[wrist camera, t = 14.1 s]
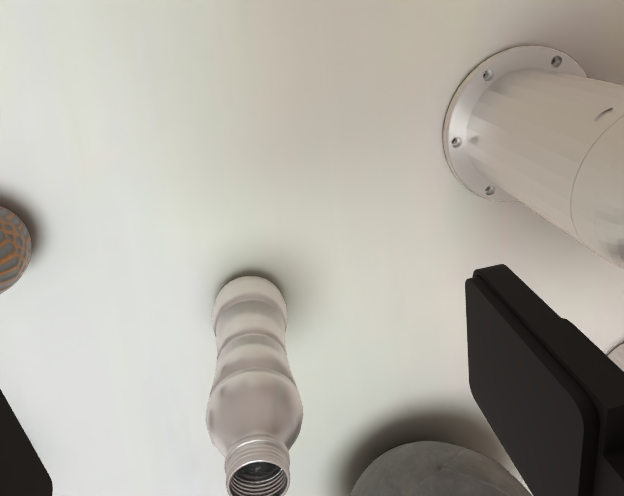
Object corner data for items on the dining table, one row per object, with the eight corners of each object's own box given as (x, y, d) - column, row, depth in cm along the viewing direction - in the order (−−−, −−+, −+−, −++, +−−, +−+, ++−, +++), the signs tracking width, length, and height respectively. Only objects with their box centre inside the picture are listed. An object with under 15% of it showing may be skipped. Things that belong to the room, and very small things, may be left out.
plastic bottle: (286, 266, 46) (319, 434, 28) (283, 330, 48) (312, 520, 31) (212, 267, 45) (197, 441, 27) (213, 332, 48) (201, 530, 30)
